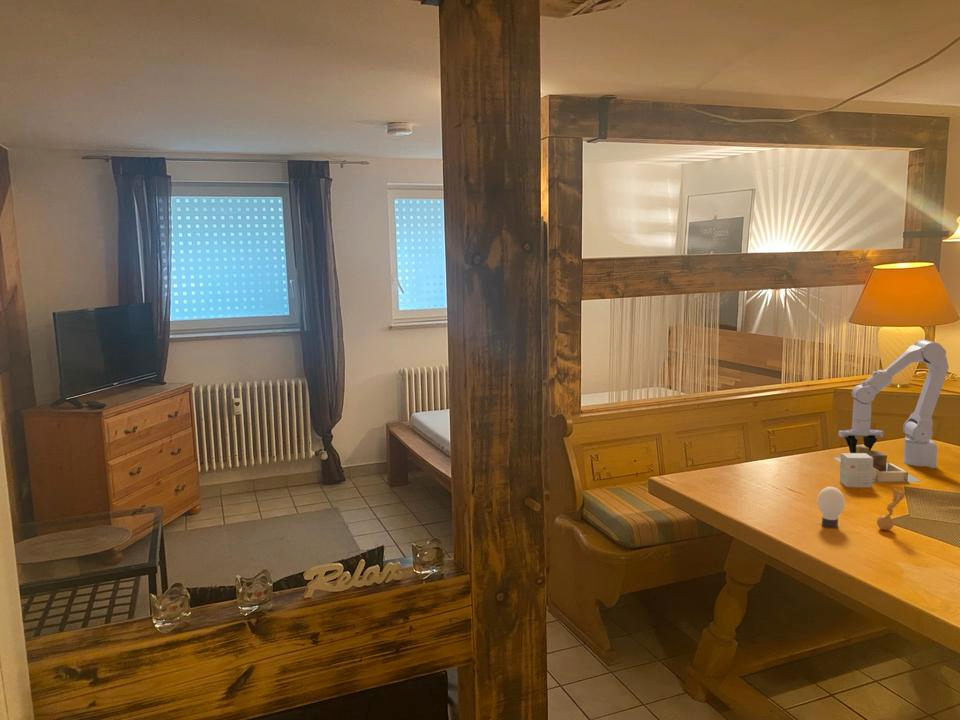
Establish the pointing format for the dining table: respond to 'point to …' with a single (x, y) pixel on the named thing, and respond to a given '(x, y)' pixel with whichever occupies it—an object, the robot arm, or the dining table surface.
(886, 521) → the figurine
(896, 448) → the dining table surface
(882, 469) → the walnut block with tether
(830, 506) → the light bulb
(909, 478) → the shelf board with lane
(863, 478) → the small box
